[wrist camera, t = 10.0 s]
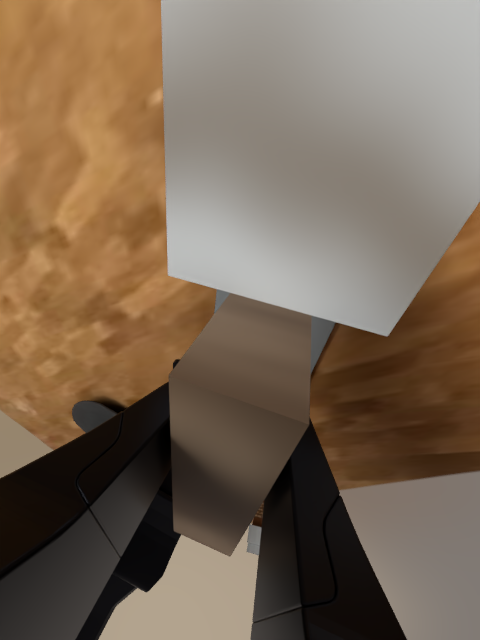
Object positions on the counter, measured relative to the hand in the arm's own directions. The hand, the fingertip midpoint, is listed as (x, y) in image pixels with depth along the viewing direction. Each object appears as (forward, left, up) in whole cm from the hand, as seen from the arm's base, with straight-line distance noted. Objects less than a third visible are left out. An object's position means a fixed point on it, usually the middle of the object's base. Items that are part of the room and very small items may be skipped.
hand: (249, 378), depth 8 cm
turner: (+1, 0, -1) cm, 2 cm away
